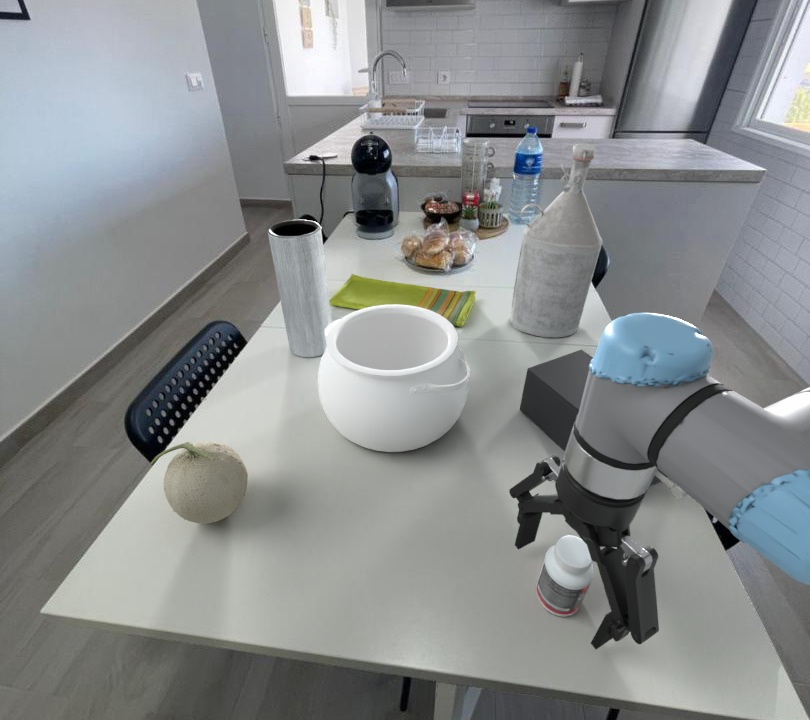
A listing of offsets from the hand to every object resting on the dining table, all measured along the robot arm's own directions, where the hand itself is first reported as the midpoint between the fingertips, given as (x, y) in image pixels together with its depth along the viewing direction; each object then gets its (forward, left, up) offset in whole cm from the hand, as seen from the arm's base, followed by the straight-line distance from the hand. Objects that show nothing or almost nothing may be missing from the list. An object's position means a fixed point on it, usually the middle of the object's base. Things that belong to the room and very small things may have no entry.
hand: (559, 587), depth 54 cm
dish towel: (+76, -17, -2) cm, 78 cm away
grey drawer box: (+22, -24, -2) cm, 33 cm away
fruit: (+33, +36, -2) cm, 49 cm away
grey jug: (+51, -42, -2) cm, 66 cm away
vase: (+68, +10, -2) cm, 69 cm away
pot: (+40, +3, -2) cm, 40 cm away
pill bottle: (0, 0, -2) cm, 2 cm away
